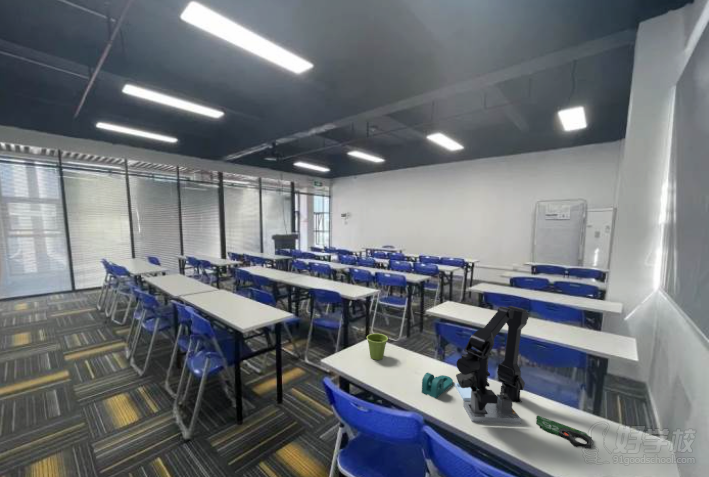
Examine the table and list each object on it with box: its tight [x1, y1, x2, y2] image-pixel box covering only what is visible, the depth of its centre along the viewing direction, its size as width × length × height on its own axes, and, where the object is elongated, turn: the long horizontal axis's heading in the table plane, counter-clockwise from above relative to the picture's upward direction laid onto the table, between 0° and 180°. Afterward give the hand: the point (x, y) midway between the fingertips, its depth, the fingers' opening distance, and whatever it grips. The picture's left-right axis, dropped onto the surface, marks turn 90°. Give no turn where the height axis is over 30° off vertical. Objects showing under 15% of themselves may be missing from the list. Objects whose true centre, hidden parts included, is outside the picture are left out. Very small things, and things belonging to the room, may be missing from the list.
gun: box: [535, 415, 593, 450], centre depth 101 cm, size 16×2×10 cm
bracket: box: [421, 372, 454, 399], centre depth 127 cm, size 18×7×8 cm, turn 134°
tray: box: [453, 382, 472, 402], centre depth 123 cm, size 11×11×2 cm
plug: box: [470, 389, 485, 414], centre depth 109 cm, size 4×4×9 cm
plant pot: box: [366, 333, 389, 361], centre depth 156 cm, size 12×12×11 cm
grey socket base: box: [462, 392, 522, 425], centre depth 109 cm, size 18×9×9 cm, turn 89°
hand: (478, 406), depth 109 cm, fingers closed on plug, 4 cm apart
